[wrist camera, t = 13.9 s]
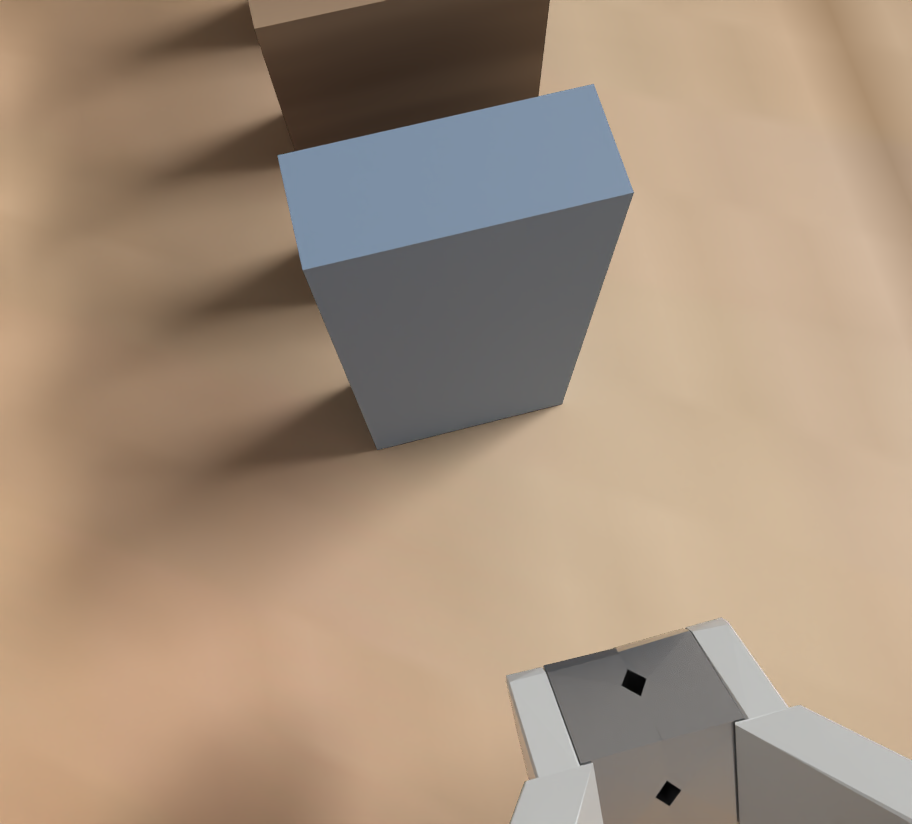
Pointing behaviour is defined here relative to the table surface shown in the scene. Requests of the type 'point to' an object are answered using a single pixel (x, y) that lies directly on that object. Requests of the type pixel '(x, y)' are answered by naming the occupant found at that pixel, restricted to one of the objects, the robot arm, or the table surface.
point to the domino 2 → (461, 257)
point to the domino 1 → (395, 61)
